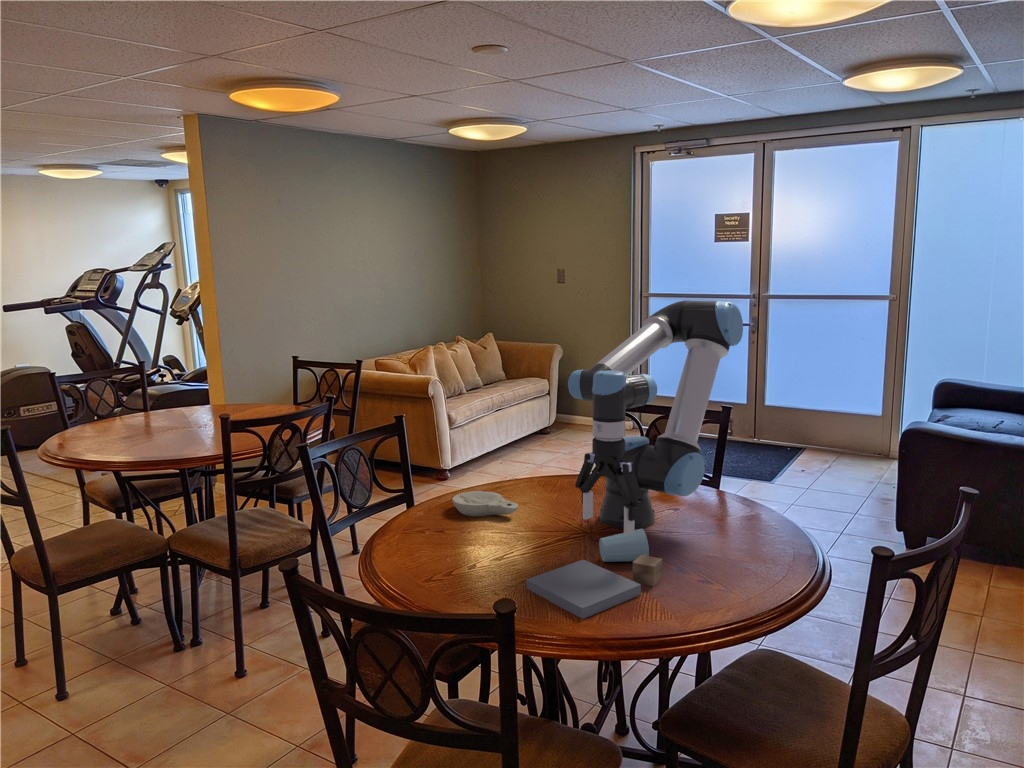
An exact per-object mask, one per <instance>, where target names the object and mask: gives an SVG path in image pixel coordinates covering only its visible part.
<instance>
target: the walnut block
mask: <svg viewBox="0 0 1024 768" xmlns="http://www.w3.org/2000/svg"><path fill="white" fill-rule="evenodd" d="M662 579H663V558H660V557H655V556H650V555H649V556H646V555H640V556H639V557H638V558H637V559H636V560H635V561H632V581H634V582H636V583H638V584H641V585H644V586H649V587H652V588H655V586H656V585H658V583H659V582H660V581H661V580H662Z"/></svg>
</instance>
